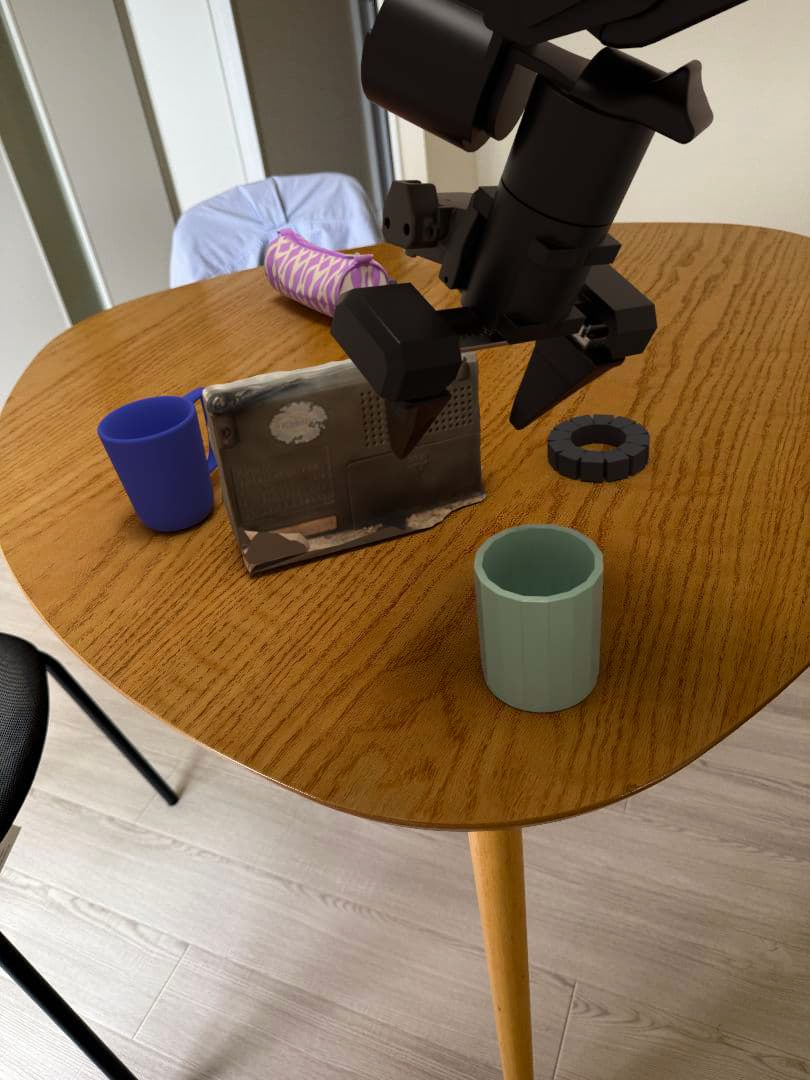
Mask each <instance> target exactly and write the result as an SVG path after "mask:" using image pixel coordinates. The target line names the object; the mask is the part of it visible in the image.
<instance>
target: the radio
mask: <svg viewBox="0 0 810 1080" xmlns="http://www.w3.org/2000/svg"><path fill="white" fill-rule="evenodd" d="M461 357H462V364H461V367H460V369H459V372H458V375H457V377H456V379H455V380H454V381H453V382H452V383H451V384H450V385H448V386H447V387H446V389H447V390H448V391H449V392H450V393H451V395H452V398H451V399H450V401H449V402H448V403H447V405H446V406H445V407H444V409H443V410H442V411H441V413H440V414H439V416H438V417H437V418H436V419H435V421H434V422H433V424H432V425H431V426H430V428H429V429H428V430H427V432H426V433H425V434H424V436H423V437H422V439H421V440H420V441H419V443H418V444H417V445H416V447H415V448H414V449H413V450H412V451H411V452H410V453H409V454H408V456H407V457H406V458H404V459H398V457H397V456H396V455H395V453H394V452H393V451H392V449H391V446H390V439H389V431H388V423H387V415H386V407H385V400H384V398H381V397H379V395H378V394H377V393H376V391H375V390H374V389H373V388H372V386H371V385H370V384H369V382H368V381H367V380H366V379H365V377H364V376H363V375H362V373H361V372H360V371H359V370H358V368H357V367H356V366H355V365H354V363H353V362H352V361H351V359H350V358H348V359H347V358H346V359H344V360H339V361H336V360H335V361H334V360H332V361H329V362H326V363H323V364H319V365H315V366H314V365H313V366H309V367H303V368H298V369H293V370H279V371H272V372H271V371H270V372H267V373H260V374H257V375H254V376H250V377H247V378H246V377H245V378H243V379H238V380H234V381H231V382H225V383H216V384H211V385H208V386H206V388H205V389H204V390H203V392H202V396H203V401H204V407H205V410H206V414H207V419H208V421H207V427H206V430H207V429H208V433H207V438H209V440H208V443H209V442H210V445H211V448H212V450H213V452H214V455H215V458H216V461H217V472H218V477H219V481H220V495H221V500H222V503H223V505H224V508H225V511H226V514H227V515H226V516H227V518H228V521H229V525H230V527H231V531H232V533H233V535H234V538H235V540H236V543H237V545H238V546H239V548H240V550H241V554H242V558H243V562H244V566H245V567H246V569H247V570H248V572H249V574H250V575H251V574H254V573H259V572H262V571H266V570H269V569H274V568H278V567H281V566H286V565H289V564H292V563H297V562H301V561H304V560H305V561H306V560H308V559H312V558H316V557H320V556H323V555H327V554H332V553H336V552H339V551H343V550H346V549H351V548H354V547H358V546H362V545H366V544H370V543H374V542H378V541H382V540H384V539H389V538H393V537H397V536H401V535H405V534H408V533H412V532H415V531H420V530H423V529H427V528H431V527H433V526H435V524H438V523H440V522H443V521H444V519H445V518H446V516H448V515H449V514H450V513H451V512H452V511H455V510H457V509H459V508H462V507H465V506H468V505H472V504H475V503H479V502H482V501H483V500H486V497H487V493H488V491H487V489H486V487H485V486H484V483H483V476H482V470H483V467H484V465H482V456H481V443H482V442H481V441H482V436H481V431H482V430H481V429H482V428H481V407H480V395H479V391H480V390H479V388H480V386H479V384H480V383H479V381H480V380H479V379H480V378H479V373H480V372H479V371H480V369H479V361H478V356H477V353H476V351H471V352H465V353H461Z"/></svg>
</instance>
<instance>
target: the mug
mask: <svg viewBox="0 0 810 1080" xmlns="http://www.w3.org/2000/svg"><path fill="white" fill-rule="evenodd" d="M206 387H207V386H206ZM206 387H205V386H199V387H197V388H195V389H193V390H191V391H189V392H188V393H186V394H185V395H183V396H177V395H159V396H152V397H145V398H142V399H138V400H135V401H131V402H129V403H126V404H124V405H122V406H120V407H118V408H116V409H114V410H112V411H111V412H109V413H108V414H107V415H106V416H104V417H103V418H102V419H101V421H100V422H99V423H98V426H97V428H96V430H97V431H96V432H97V436H98V438H99V440H100V442H101V444H102V446H103V448H104V450H105V452H106V454H107V456H108V458H109V460H110V462H111V465H112V466H113V468H114V470H115V473H116V475H117V477H118V479H119V481H120V483H121V485H122V487H123V489H124V491H125V493H126V495H127V497H128V500H129V501H130V504H131V505H132V507H133V509H134V511H135V514H136V515H137V517H138V518H139V520H140V521H141V522H142V524H143V525H145V526H146V527H147V528H149V529H151V530H153V531H157V532H177V531H181V530H184V529H188V528H190V527H193V526H194V525H196V524H199V523H200V522H202V521H203V520H204V519H205V518H206V517H207V516H208V515H209V514H210V513H211V511H212V509H213V507H214V502H215V492H214V487H213V482H212V479H211V473H213V472H214V471H215V470H216V469H218V466H217V461H216V458H215V455H214V452H213V450H212V448H211V445H210V442H209V438H208V437H207V438H208V454H207V453H206V449H205V445H204V440H203V434H202V429H201V426H200V421H199V416H198V412H197V411H198V410H197V408H196V404H195V403H197V402H198V401H199V400H200V404H201V409H202V413H203V417H204V422H205V427H206V432H207V434H208V429H207V421H208V419H207V414H206V410H205V407H204V401H203V396H202V392H203V390H204V389H205V388H206ZM207 455H208V456H207Z"/></svg>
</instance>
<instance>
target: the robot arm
mask: <svg viewBox="0 0 810 1080" xmlns="http://www.w3.org/2000/svg"><path fill="white" fill-rule="evenodd" d="M748 1H750V0H383V2H382V4H381V5H380V7H379V10H378V13H377V15H376V16H375V19H374V22H373V25H372V28H369V29H368V30H367V32H366V34H365V37H364V42H363V45H362V52H361V60H360V84H361V87H362V92H363V94H364V95H365V98H366V99H367V100H368V101H369V102H371V103H372V104H373V105H376V106H377V107H379V108H381V109H383V110H385V111H387V112H389V113H391V114H393V115H395V116H396V117H399V118H400V119H402V120H405V121H406V122H408V123H410V124H412V125H414V126H416V127H418V128H420V129H422V130H424V131H425V132H427V133H430V134H431V135H433V136H435V137H437V138H439V139H441V140H443V141H445V142H446V143H448V144H451V145H452V146H455V147H456V148H458V149H461V150H462V151H464V152H466V153H475V152H478V151H479V150H480V149H481V148H482V147H483V146H484V145H486V143H487V142H488V141H489V140H490V138H491V139H493V140H496V141H497V142H501V141H503V140H504V139H506V138H507V137H508V136H509V135H510V134H511V133H512V131H513V130H514V128H515V127H516V126H517V124H518V122H519V121H520V122H519V124H518V128H517V130H516V133H515V135H514V138H513V141H512V145H511V147H510V150H509V153H508V156H507V158H506V162H505V165H504V168H503V170H502V174H501V176H500V179H499V182H498V184H497V185H479V186H478V188H477V189H476V190H475V191H474V192H468V191H467V192H466V191H452V192H451V191H448V192H438V191H437V186H436V185H435V184H434V183H431V182H422V181H421V180H420V179H395V180H392V181H391V184H390V187H389V190H388V193H387V196H386V199H385V202H384V205H383V209H382V225H381V226H382V228H381V232H382V235H383V239H384V240H385V242H386V243H387V244H391V245H392V246H395V247H398V248H401V249H404V254H405V256H407V257H408V258H411V259H414V258H417V257H420V258H422V259H425V260H428V261H431V262H434V263H436V264H439V265H441V266H440V269H439V271H438V272H439V273H438V276H437V278H438V279H439V280H440V281H441V282H442V284H443V285H445V287H446V288H447V289H448V290H449V291H452V290H457V291H458V292H459V293H460V294H461V295H460V299H459V302H460V305H461V306H459V307H452V308H451V307H450V308H444V309H437V310H436V308H435V307H434V306H433V305H432V304H431V303H430V302H429V301H428V300H427V299H426V298H425V297H424V296H423V295H422V293H421V292H420V291H419V290H418V289H417V288H416V287H415V286H414V284H413V283H411V282H400V283H397V284H390V285H381V286H371V287H362V288H353V289H351V290H349V291H347V292H344V293H342V294H341V295H340V297H339V300H338V302H337V304H336V307H335V311H334V316H333V317H332V321H331V325H330V330H329V334H330V335H331V337H332V338H333V339H334V340H335V342H336V343H337V344H338V346H339V347H340V348H341V350H343V352H344V353H345V354H346V356H347V357H348V359H351V361H352V362H353V363H354V365H355V366H356V367H357V368H358V370H359V371H360V372H361V373H362V375H363V376H364V377H365V379H366V380H367V381H368V382H369V384H370V385H371V386H372V388H373V389H374V390H375V391H376V393H377V394H378V395H379V397H381V398H384V400H385V407H386V415H387V423H388V431H389V439H390V446H391V449H392V451H393V452H394V453H395V455H396V456H397V457H398V459H404V458H406V457H407V456H408V454H409V453H410V452H411V451H412V450H413V449H414V448H415V447H416V445H417V444H418V443H419V441H420V440H421V439H422V437H423V436H424V434H425V433H426V432H427V430H428V429H429V428H430V426H431V425H432V424H433V422H434V421H435V419H436V418H437V417H438V416H439V414H440V413H441V411H442V410H443V409H444V407H445V406H446V405H447V403H448V402H449V401H450V399H451V398H452V395H451V393H450V392H449V391H448V390H447V389H446V387H447V386H448V385H450V384H451V383H452V382H453V381H454V380H455V379H456V377H457V375H458V372H459V369H460V367H461V364H462V357H461V353H465V352H471V351H475V352H476V351H481V350H488V349H493V348H499V347H500V348H501V347H505V346H513V345H517V344H524V343H525V344H526V343H530V342H535V343H534V347H533V350H532V352H531V354H530V358H529V359H528V363H527V365H526V367H525V371H524V374H523V376H522V379H521V381H520V383H519V386H518V389H517V390H516V391H517V392H516V394H515V397H514V400H513V402H512V406H511V409H510V412H509V413H510V414H509V417H508V420H509V423H510V425H512V427H513V428H514V429H515V430H516V431H521V430H525V428H527V427H529V426H530V425H531V424H533V423H534V422H535V421H537V420H539V418H541V417H542V416H544V415H545V414H546V413H548V412H549V411H551V410H552V409H554V408H555V407H556V406H558V405H559V404H561V403H562V402H563V401H565V400H567V399H568V398H569V397H571V396H572V395H574V394H576V392H578V391H580V390H581V389H582V388H585V387H586V386H587V385H589V384H590V383H592V382H593V381H595V380H596V379H598V378H600V377H602V376H603V375H605V373H607V372H609V371H610V370H613V369H614V368H617V367H620V366H622V365H623V364H624V363H625V361H626V358H627V357H632V356H636V355H642V354H644V352H645V350H646V348H647V347H648V345H649V343H650V341H651V340H652V338H653V336H654V335H655V333H656V331H657V329H658V321H657V313H656V312H657V311H656V304H655V303H654V302H653V301H651V300H650V299H649V298H648V297H647V296H646V295H645V294H643V292H641V291H640V290H639V289H638V288H637V287H635V285H634V284H632V283H631V282H630V281H629V280H628V279H626V277H624V276H623V275H622V274H621V273H619V271H617V270H616V269H615V268H614V267H613V266H612V265H613V264H614V262H615V260H616V258H617V256H618V255H619V252H620V251H621V249H622V246H623V244H622V243H621V242H620V241H619V240H618V239H616V238H615V237H614V236H612V234H610V233H609V231H610V229H611V227H612V225H613V223H614V220H615V218H616V217H617V214H618V212H619V210H620V208H621V206H622V204H623V203H624V200H625V198H626V195H627V193H628V191H629V188H631V184H632V183H633V180H634V178H635V177H636V174H637V172H638V170H639V168H640V166H641V164H642V162H643V159H644V158H645V156H646V153H647V151H648V149H649V147H650V145H651V143H652V140H653V138H654V137H655V134H656V133H657V134H659V135H661V136H663V137H665V138H667V139H669V140H671V141H674V142H676V143H677V144H680V145H687V144H689V143H691V142H692V141H693V140H694V139H696V138H697V137H698V136H700V135H701V134H702V133H703V132H704V131H705V130H707V129H708V128H709V127H710V126H711V125H712V123H713V122H714V119H715V118H714V115H715V114H714V112H713V110H712V108H711V106H710V103H709V100H708V97H707V94H706V92H705V89H704V85H703V77H702V73H703V72H702V71H703V64H702V62H701V61H700V60H698V59H692V60H691V61H689V62H687V63H685V64H682V66H680V67H678V68H677V69H675V70H673V71H670V72H667V71H665V70H664V69H663V70H662V69H660V68H658V67H657V66H654V65H652V64H649V63H648V62H646V61H643V60H641V59H640V58H637V57H635V56H633V55H631V54H628V53H627V52H624V51H622V50H628V49H642V48H645V47H648V46H651V45H654V44H656V43H659V42H661V41H663V40H665V39H667V38H669V37H672V36H674V35H676V34H679V33H680V32H683V31H684V30H687V29H689V28H691V27H694V26H695V25H698V24H700V23H702V22H704V21H707V20H709V19H711V18H713V17H716V16H718V15H720V14H723V13H724V12H727V11H729V10H731V9H733V8H735V7H737V6H740V5H742V4H744V3H747V2H748ZM583 31H587V32H588V33H589V34H590V35H592V36H593V37H594V38H595V39H596V40H598V41H599V42H600V44H601V45H603V46H605V47H603V48H601V49H600V50H598V51H597V52H596V54H595V55H594V56H593V57H591V58H587V57H585V56H581V55H579V54H577V53H574V52H572V51H569V50H567V49H566V48H563V47H561V46H559V45H556V44H555V43H552V42H551V41H552V40H555V39H559V38H562V37H566V36H569V35H572V34H576V33H580V32H583Z"/></svg>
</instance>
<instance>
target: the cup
mask: <svg viewBox="0 0 810 1080" xmlns="http://www.w3.org/2000/svg"><path fill="white" fill-rule="evenodd" d="M473 578H474V591H475V603H476V613H477V614H476V615H477V627H478V628H477V629H478V641H479V651H480V652H479V653H480V663H481V664H480V665H481V669H482V673H483V679H484V682H485V684H486V686H487V687H488V689H489V690H490V692H491V693H492V694H493V695H494V696H495V697H496V698H497V699H498V700H500V701H501V702H503V703H505V704H507V705H508V706H511V707H512V708H515V709H518V710H521V711H525V712H531V713H554V712H559V711H563V710H567V709H569V708H571V707H574V706H575V705H577V704H579V703H581V702H582V701H584V700H585V699H586V698H587V697H588V696H589V695H590V694H591V693H592V692H593V690H594V689H595V687H596V685H597V682H598V680H599V673H600V659H601V638H602V637H601V636H602V635H601V634H602V612H603V592H604V591H603V588H604V554H603V552H602V551H601V549H600V548H599V547H598V545H597V544H596V543H595V541H594V540H593V538H590V537H589V536H587V535H585V534H584V533H582V532H580V531H579V530H576V529H575V528H570V527H566V526H562V525H559V524H555V523H526V524H521V525H516V526H512V527H507V528H505V529H503V530H501V531H499V532H497V533H495V534H493V535H491V536H489V537H487V539H486V540H485V541H484V542H483V543H482V544H481V545H480V546H479V547H478V549H477V550H476V552H475V555H474V561H473Z"/></svg>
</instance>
